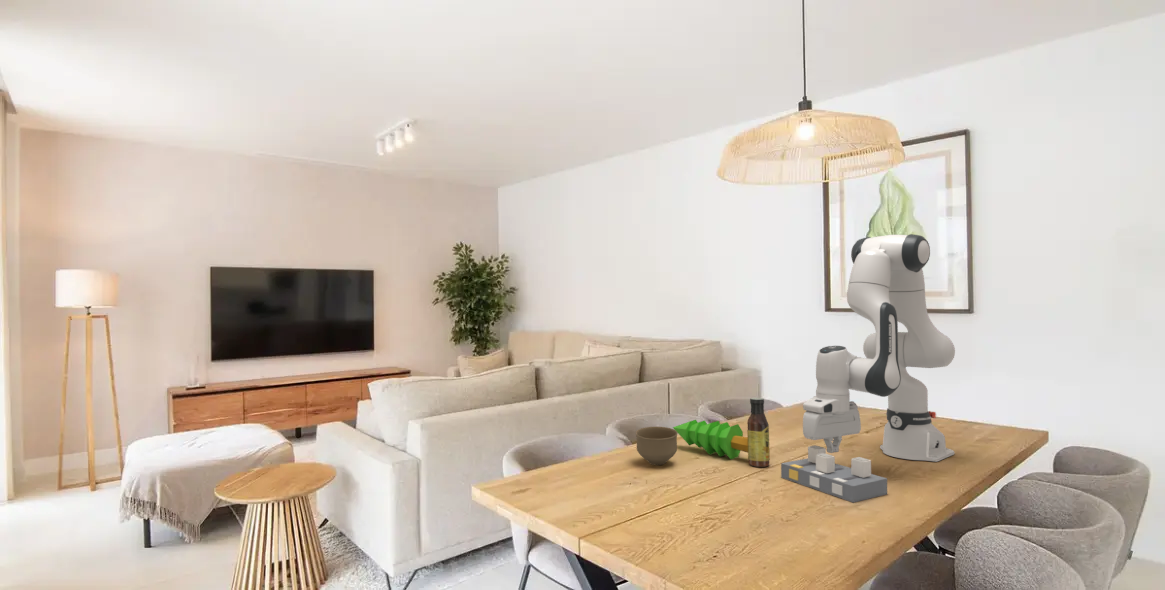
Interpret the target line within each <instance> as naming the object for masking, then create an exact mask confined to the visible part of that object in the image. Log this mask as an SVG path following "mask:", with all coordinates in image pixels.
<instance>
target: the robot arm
mask: <svg viewBox="0 0 1165 590" xmlns="http://www.w3.org/2000/svg"><path fill="white" fill-rule="evenodd" d="M930 248H931V246H930V243H929V241H928V240H927V239H926V238H925V237H924V236H923V235H918V234H912V233H909V234H886V235H878V236H873V237H870V236H868V237H863V238H860V239H858V240H856V241H855V243H854V244H853V245H852V248H851V255H850V256H851V257H850V259H851V261H852V263H853V265H852V268H851V272H850V275H849V281H848V285H847V286H848V287H847V291H846V301H847V304H848V306H849V308H850V309H851V310H852V311H853V312H854V313H856V315H858V316H860V317H862V318H865V319H866V320H868V321H870V322H871V324H872V325H873V327H874V330H875V333H874V332H873V333H870V334H869V335H868V336H866V338H865V339H864V342H863V345H862V346H863V347H862V348H863V349H862V350H863V355H864V356H865V357H866V358H865V357H861V356H857V355H854V354H852V353H851V352H850V351H848V349H847V347H846V346H843V345H828V346H823V347H822V348H820V349H819V350H818V353H817V356H816V361H815V364H816V365H815V378H816V382H817V383H816V384H817V386H816V389H815V396H813V397H812V398H810V399H809V400H806V401H804V403H803V404H802V407H803V411H805V412H804V413H803V416H802V435H803V436H804V438H805V439H807V440H811V441H812V440H813V441H819V440H823V442H824V445H825V446H826V452H827V454H828V453H829V454H833V453H838V452H840V451H839V450H840V445H841V443H842V440H843V436H849V435H850V436H851V435H857V434H860V432H861V430H862V424H861V416H860V412H859V409H858V405H857V403H856V402H855V401H853V400H852V401H851V399H850V395H851V394H850V390H852V391H857V392H860V393H868V394H871V395H875V396H878V397H884V398H885V397H887V403H888V405H887V406H888V407H887V409H886V420H887V423H885V425H884V428H883V430H884V431H883V439H882V444H881V445H880V446H879V449H880V450H882V453H883V454H884V455H887V456H890V457H894V458H898V459H903V460H910V461H927V462H940V461H942V460H944V459H947V458H948V457H951V456H954V455H955V451H954V450H953V449H952V448H951V449H950V448H948V447H947V446H946V437H945V435H944V433H943V432H942V431H940V430H939V429H938V428H937V427H936V426H935V425H934V424H933V423H932V422H933V421H932V419H936V417H937V412H936V411H931V410H929V407H928V406H929V403H928V402H929V401H928V398H929V397H928V395H929V393H928V388H927V386H926V384H924V383H923V382H922V381H921V380H919V379H917V378H915V377H913V376H912V375H910V374H909V373H908V370H907V368H923V369H924V368H925V369H933V368H934V369H935V368H945V367H947V366H949V365H950V364H951V363H952V362H953V361H954V358H955V354H956V348H955V345H954V343H953V341H952V340H951V339H950V338H949V337H948V336H947V335H945V334H944V333H943V332H941V331H940V330H939V329H938V328H937V327H936V326H935V324H934V323H933V322H932V320H931V319H930V317H929V313H928V310H927V309H928V307H927V302H926V301H927V299H926V285H925V284H926V283H925V277H924V276H925V275H924V271H923V268H924V267H925V266H926V265H927V264H928V261H929V260H930V257H931V249H930ZM898 323H900V324H902V325H903V326H904V327H905V328H906V329H907V332H905V331H903V332H902V331H899V329H898Z"/></svg>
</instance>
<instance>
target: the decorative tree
mask: <svg viewBox="0 0 1165 590" xmlns="http://www.w3.org/2000/svg"><path fill="white" fill-rule="evenodd" d="M672 429H674V430H676V431H677V433H678V434H677V435H679V436H680V438H682V439H683V440H684V442H685V443H686V444H687V445H689V446H691V445H695V446H696V447H698V448H703V450H704V451H705V452H706V453H707V454H708V455H709V456H711V455H713V454H717V455H718V456H719V457H720V458H721V457H723V456H725V455H726V457H728V459H730V460H733V459H736V458H739V455H740V453H741V452H745V453H747V454H748V436H743V435H744V432H743V430H742V428H741V427H740V424H738V423H737V424H734V425H731V426H730V423H729V422H728V421H726V422H723V423H720V420H716V421H713V422H710V423H709V422H708V423H707V422H706V420H702V421H697V419H693V420H689V421H686V422H685V423H681V424H678V425H675V426H673V427H672Z"/></svg>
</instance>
